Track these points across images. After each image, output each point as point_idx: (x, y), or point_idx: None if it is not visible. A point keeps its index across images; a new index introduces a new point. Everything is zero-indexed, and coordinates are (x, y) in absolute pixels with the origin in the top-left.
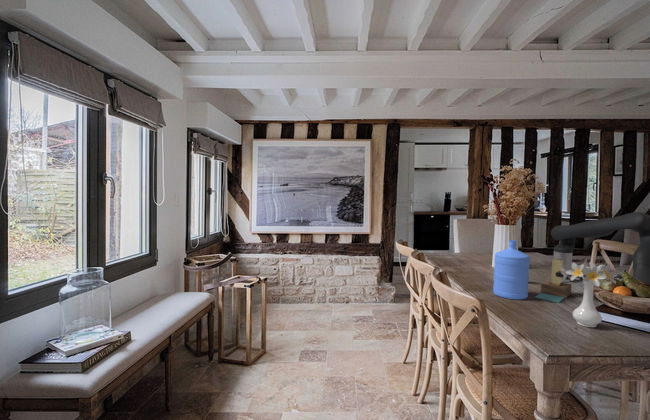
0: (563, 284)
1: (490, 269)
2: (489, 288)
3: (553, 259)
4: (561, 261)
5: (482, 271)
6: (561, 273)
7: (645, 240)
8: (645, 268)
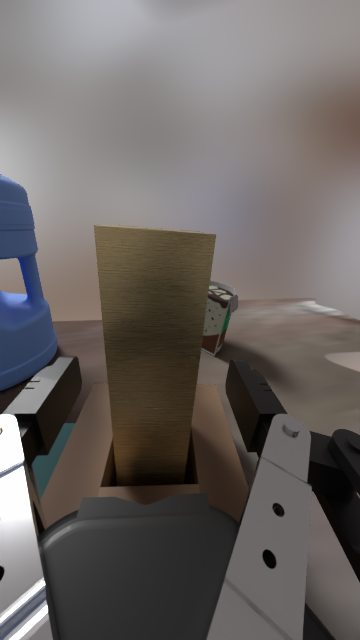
0: (198, 483)
1: (276, 303)
2: (69, 324)
3: (119, 225)
4: (110, 244)
5: (239, 300)
6: (36, 392)
7: None
8: None
